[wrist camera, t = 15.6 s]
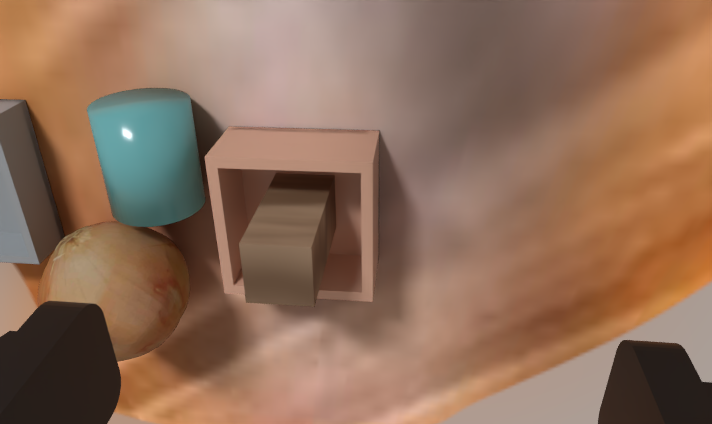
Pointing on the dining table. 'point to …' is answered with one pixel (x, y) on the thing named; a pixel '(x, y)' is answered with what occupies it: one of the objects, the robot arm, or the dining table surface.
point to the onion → (121, 282)
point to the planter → (300, 156)
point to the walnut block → (289, 240)
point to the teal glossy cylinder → (148, 155)
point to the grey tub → (24, 191)
